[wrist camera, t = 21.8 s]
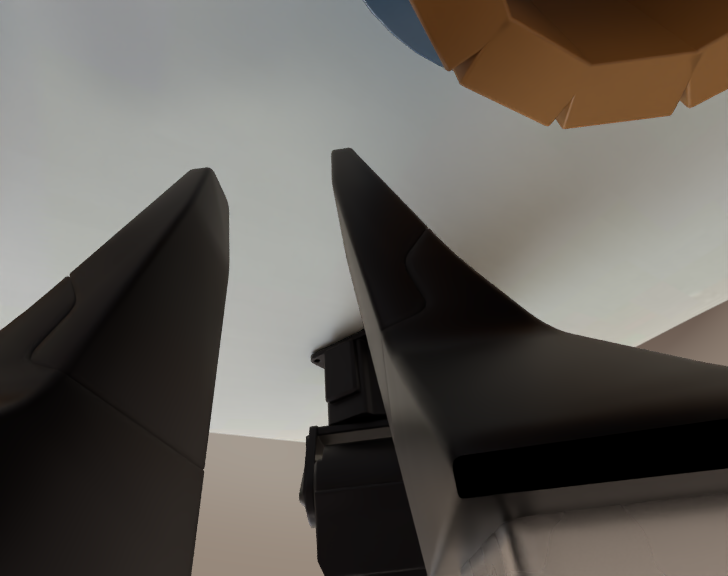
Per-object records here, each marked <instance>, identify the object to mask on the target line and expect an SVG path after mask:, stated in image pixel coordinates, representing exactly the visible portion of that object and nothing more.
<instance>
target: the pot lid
mask: <svg viewBox="0 0 728 576" xmlns="http://www.w3.org/2000/svg"><path fill="white" fill-rule="evenodd" d="M363 1H364V3H365V4H366V6H367V7H368V8H369V10H370V11H371V12H372V14H373V15H374V16H375V17H376V18H377V19H378V20H379V21H380V22H381V23H382V24H383V25H384V26H385V27H386V28H387V29H388V30H389V31H390V32H391V33H392V34H393V35H394V36H395V37H396V38H398V39H399V40H400V41H401V42H403V43H404V44H405V45H406V46H408V47H409V48H410V49H412V50H413V51H414V52H415V53H417V54H419V55H421V56H423V57H424V58H426V59H428V60H430V61H432V62H433V63H435V64H437V65H439V66H441V67H444V66H443V64H442V62H441V60H440V59H439V57H438V55H437V53H436V51H435V49H434V47H433V45H432V43H431V41H430V40H429V38H428V36H427V34H426V32H425V30H424V28H423V26H422V24H421V22H420V21H419V19H418V17H417V15H416V13H415V11H414V9H413V7H412V5H411V3H410V1H409V0H363ZM452 71H453V69H452Z"/></svg>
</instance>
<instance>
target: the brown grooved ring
mask: <svg viewBox="0 0 728 576" xmlns="http://www.w3.org/2000/svg"><path fill="white" fill-rule="evenodd" d="M409 1H410V3H411V5H412V7H413V9H414V11H415V13H416V15H417V17H418V19H419V21H420V22H421V24H422V26H423V28H424V30H425V32H426V34H427V36H428V38H429V40H430V41H431V43H432V45H433V47H434V49H435V51H436V53H437V55H438V57H439V59H440V60H441V62H442V64H443V66H444V68H445V69H446V70H447V71H451V70H452V69H453V71H454V73H455V75H456V77H457V79H458V81H459V83H460V84H461V85H462V86H464V87H466V88H468V89H470V90H472V91H474V92H476V93H478V94H480V95H482V96H485V97H487V98H489V99H491V100H493V101H495V102H497V103H499V104H501V105H503V106H505V107H507V108H510V109H512V110H514V111H516V112H518V113H520V114H522V115H524V116H526V117H528V118H530V119H532V120H535V121H537V122H539V123H541V124H543V125H545V126H549V125H550V124H551V123H552V122H553V121H554V120H555V119H556V120H557V122H558V123H559V124H560V126H561V127H562V128H563V129H568V128H576V127H584V126H592V125H600V124H608V123H616V122H623V121H631V120H639V119H647V118H655V117H663V116H670V115H671V114H672V113H673V111H674V109H675V108H676V106H677V104H678V102H679V100H680V101H681V102H682V103H683V104H684V105H685V106H687V107H688V108H691V107H694V106H696V105H698V104H700V103H702V102H703V101H705V100H707V99H709V98H711V97H713V96H715V95H717V94H719V93H721V92H723V91H725V90H727V89H728V0H409Z"/></svg>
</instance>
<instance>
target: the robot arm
mask: <svg viewBox="0 0 728 576" xmlns="http://www.w3.org/2000/svg"><path fill="white" fill-rule="evenodd" d="M331 164H332V185H333V191H334V196H335V201H336V206H337V211H338V217H339V222H340V227H341V232H342V238H343V243H344V248H345V253H346V258H347V262H348V266H349V270H350V274H351V278H352V282H353V286H354V290H355V294H356V298H357V301H358V305H359V309H360V313H361V317H362V321H363V325H364V329H365V330H363V331H361V332H359V333H357V334H354V335H352V336H350V337H348V338H346V339H344V340H342V341H340V342H338V343H335V344H333V345H331V346H329V347H327V348H325V349H323V350H321V351H319V352H316V353H314V354H312V355H311V362H312V363H314V364H316V365H318V366H320V367H322V368H323V369H325V396H326V402H328V421H329V426H322V427H318V426H312V427H310V430H309V435H308V436H306V457H305V468H304V473H303V478H302V483H301V488H300V493H299V500H300V503H301V504H302V505H303V506H304V507H305V508H306V512H307V517H308V520H309V524H310V526H311V528H316V538H317V559H318V563H319V565H320V567H321V569H322V571H323V573H324V576H728V367H727V366H722V365H716V364H710V363H705V362H700V361H696V360H691V359H686V358H682V357H677V356H672V355H668V354H663V353H659V352H653V351H649V350H645V349H640V348H635V347H631V346H626V345H621V344H617V343H612V342H607V341H603V340H598V339H593V338H589V337H584V336H580V335H575V334H571V333H567V332H564V331H561V330H558V329H556V328H554V327H552V326H550V325H548V324H546V323H544V322H542V321H541V320H539V319H537V318H536V317H534V316H533V315H532V314H530V313H529V312H527V311H526V310H525V309H524V308H522V307H521V306H520V305H518V304H517V303H516V302H515V301H513V300H512V299H511V298H509V297H508V296H507V295H506V294H504V293H503V292H502V291H500V290H499V289H498V288H497V287H495V286H494V285H493V284H491V283H490V282H489V281H488V280H486V279H485V278H484V277H483V276H481V275H480V274H479V273H477V272H476V271H475V270H474V269H472V268H471V267H470V266H469V265H468V264H466V263H465V262H464V261H463V260H462V259H460V258H459V257H458V256H457V255H456V254H455V253H454V252H452V251H451V250H450V249H449V248H448V247H447V246H446V245H445V244H444V243H443V242H442V241H441V240H440V239H439V238H438V237H437V236H436V235H435V234H434V233H433V232H432V231H431V230H430V229H428V227H427V226H426V225H425V224H424V223H423V222H422V221H421V220H420V219H419V218H418V216H417V215H416V214H415V213H414V212H413V211H412V210H411V209H410V208H409V207H408V206H407V205H406V204H405V203H404V202H403V201H402V200H401V199H400V198H399V197H398V196H397V195H396V194H395V193H394V192H393V191H392V190H391V189H390V188H389V187H388V186H387V184H386V183H385V182H384V181H383V180H382V179H381V178H380V177H379V176H378V175H377V174H376V173H375V172H374V171H373V170H372V169H371V168H370V167H369V166H368V165H367V164H366V163H365V162H364V161H363V160H362V159H361V158H360V157H359V156H358V155H357V154H356V152H355V151H354V150H353V149H351V148H344V149H337V150H333V151H332V153H331ZM228 276H229V206H228V202H227V199H226V197H225V194H224V192H223V190H222V188H221V186H220V183H219V181H218V179H217V177H216V175H215V173H214V171H213V170H212V169H211V168H207V167H206V168H199V169H192V170H190V171H189V172H187V173H186V174H185V175H184V176H183V177H182V178H180V179H179V180H178V181H177V182H176V183H175V184H173V185H172V186H171V187H170V188H169V189H168V190H166V191H165V192H164V193H163V194H162V195H161V196H159V197H158V198H157V199H156V200H155V201H154V202H152V203H151V204H150V205H149V206H148V207H147V208H146V209H144V210H143V211H142V212H141V213H140V214H139V215H137V216H136V217H135V218H134V219H133V220H132V221H130V222H129V223H128V224H127V225H126V226H125V227H123V228H122V229H121V230H120V231H119V232H118V233H116V234H115V235H114V236H113V237H112V238H111V239H110V240H108V241H107V242H106V243H105V244H104V245H103V246H101V247H100V248H99V249H98V250H97V251H96V252H94V253H93V254H92V255H91V256H90V257H89V258H87V259H86V260H85V261H84V262H83V263H82V264H80V265H79V266H78V267H77V268H76V269H75V270H74V271H72V272H71V273H70V277H65V278H64V279H63V280H62V281H61V282H59V283H58V284H57V285H56V286H55V287H54V288H53V289H51V290H50V291H49V292H48V293H47V294H45V295H44V296H43V297H42V298H41V299H39V300H38V301H37V302H36V303H35V304H33V305H32V306H31V307H30V308H29V309H27V310H26V311H25V312H24V313H22V314H21V315H20V316H18V317H17V318H16V319H14V320H13V321H12V322H11V323H9V324H8V325H7V326H5V327H4V328H3V329H2V330H0V576H191V572H192V564H193V556H194V548H195V540H196V532H197V524H198V516H199V508H200V500H201V492H202V484H203V477H204V471H203V469H204V467H205V459H206V451H207V443H208V435H209V427H210V419H211V412H212V404H213V396H214V388H215V380H216V372H217V364H218V356H219V348H220V340H221V332H222V324H223V316H224V309H225V301H226V293H227V285H228Z"/></svg>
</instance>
